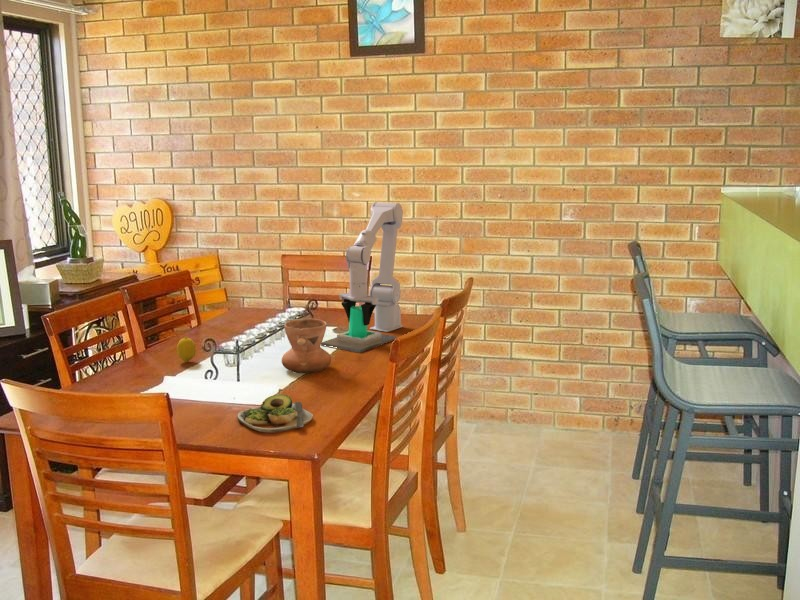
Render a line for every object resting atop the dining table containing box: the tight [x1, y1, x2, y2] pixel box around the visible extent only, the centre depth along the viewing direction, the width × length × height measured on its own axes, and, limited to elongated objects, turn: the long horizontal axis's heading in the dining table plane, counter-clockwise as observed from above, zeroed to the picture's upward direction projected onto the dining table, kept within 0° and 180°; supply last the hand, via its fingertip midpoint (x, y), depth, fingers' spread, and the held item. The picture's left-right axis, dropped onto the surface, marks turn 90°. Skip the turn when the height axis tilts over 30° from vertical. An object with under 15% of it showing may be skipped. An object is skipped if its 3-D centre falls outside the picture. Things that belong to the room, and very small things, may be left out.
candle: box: [348, 302, 368, 338], centre depth 280 cm, size 6×6×12 cm
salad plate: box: [236, 393, 314, 434], centre depth 208 cm, size 19×18×5 cm
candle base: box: [320, 329, 398, 354], centre depth 281 cm, size 20×16×3 cm
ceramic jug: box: [281, 317, 332, 374], centre depth 250 cm, size 18×14×14 cm
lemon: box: [176, 336, 197, 363], centre depth 258 cm, size 6×6×8 cm
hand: (358, 323), depth 280 cm, fingers closed on candle, 6 cm apart
